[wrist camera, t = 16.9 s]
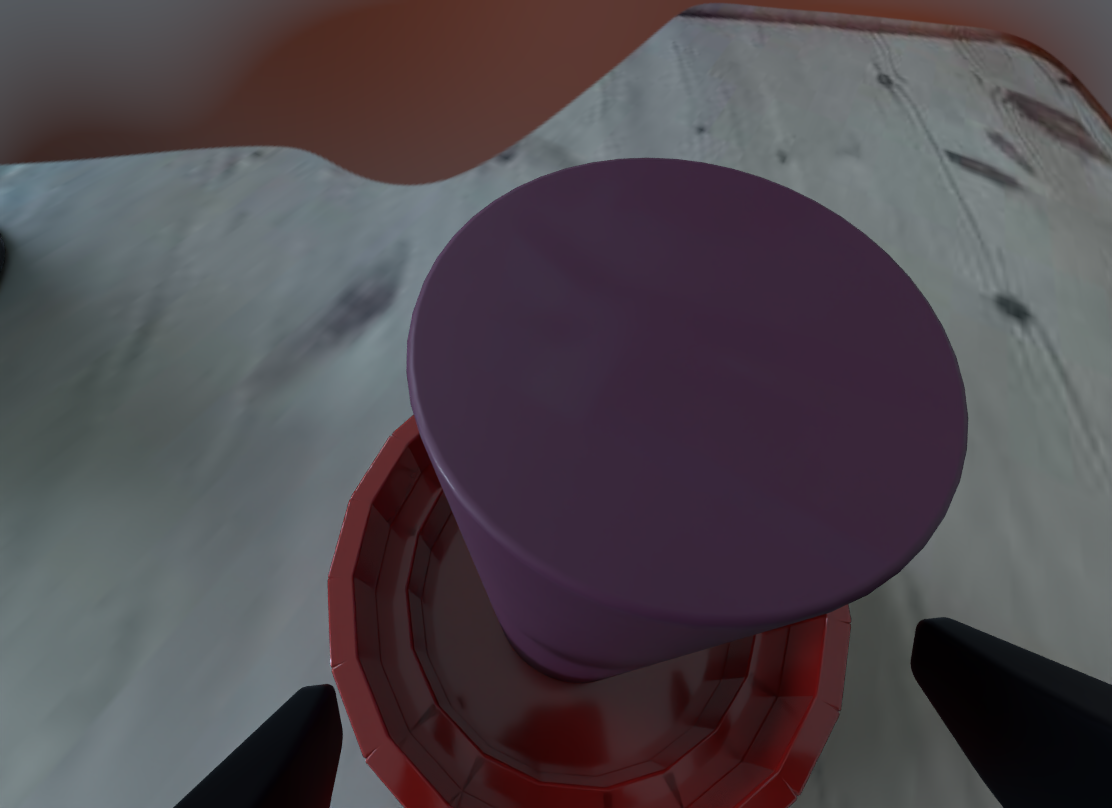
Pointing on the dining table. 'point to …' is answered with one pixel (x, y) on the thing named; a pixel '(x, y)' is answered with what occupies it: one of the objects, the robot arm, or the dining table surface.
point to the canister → (678, 410)
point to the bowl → (550, 682)
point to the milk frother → (1, 252)
